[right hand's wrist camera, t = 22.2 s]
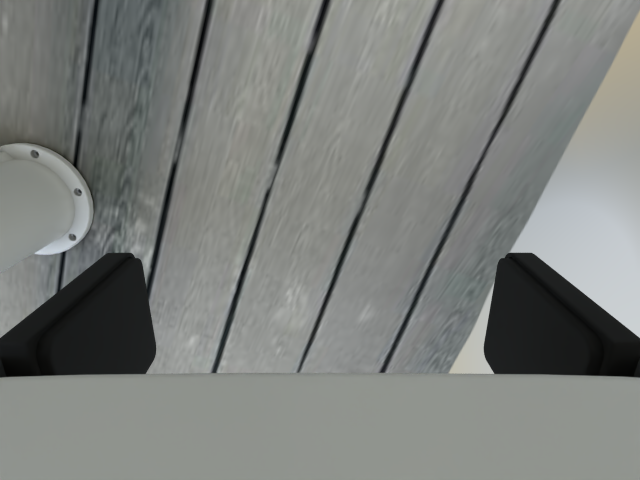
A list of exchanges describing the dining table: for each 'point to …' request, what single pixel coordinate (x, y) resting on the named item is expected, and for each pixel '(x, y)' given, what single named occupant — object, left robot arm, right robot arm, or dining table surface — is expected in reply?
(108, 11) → the dining table surface
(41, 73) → the dining table surface
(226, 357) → the dining table surface
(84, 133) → the dining table surface
